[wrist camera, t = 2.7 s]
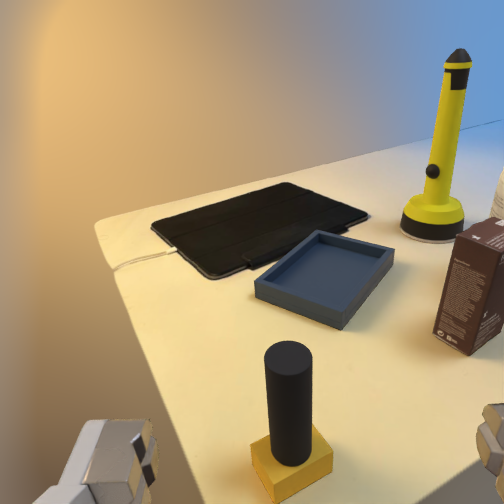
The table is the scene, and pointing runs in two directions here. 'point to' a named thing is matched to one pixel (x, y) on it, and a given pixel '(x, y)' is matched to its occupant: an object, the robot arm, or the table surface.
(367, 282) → the tray
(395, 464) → the table surface
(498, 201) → the supplement tub
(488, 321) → the box
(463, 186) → the table surface
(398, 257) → the table surface
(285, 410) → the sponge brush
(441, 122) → the flashlight
